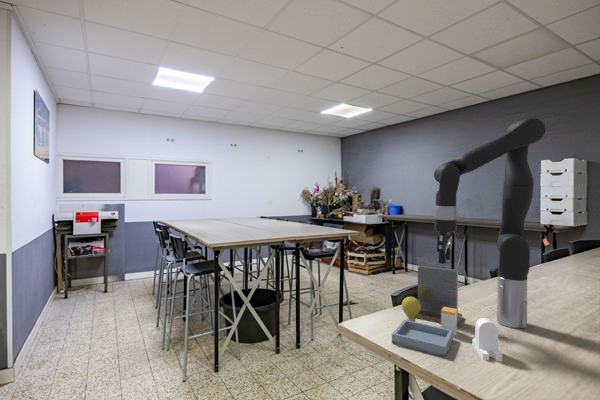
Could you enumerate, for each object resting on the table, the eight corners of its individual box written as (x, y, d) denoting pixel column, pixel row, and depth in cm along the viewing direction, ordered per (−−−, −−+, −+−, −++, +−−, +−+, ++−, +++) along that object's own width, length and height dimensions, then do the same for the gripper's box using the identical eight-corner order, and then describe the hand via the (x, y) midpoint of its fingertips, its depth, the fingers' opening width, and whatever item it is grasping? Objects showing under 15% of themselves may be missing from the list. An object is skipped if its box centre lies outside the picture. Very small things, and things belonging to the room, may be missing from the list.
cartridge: (456, 331, 113) (457, 309, 113) (454, 336, 109) (455, 312, 109) (443, 328, 116) (443, 306, 115) (441, 333, 112) (441, 310, 112)
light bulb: (398, 320, 123) (398, 294, 123) (415, 319, 123) (415, 294, 123) (405, 327, 116) (406, 300, 116) (423, 327, 117) (424, 299, 116)
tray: (452, 339, 107) (452, 330, 107) (445, 357, 96) (445, 347, 96) (404, 327, 116) (404, 319, 116) (391, 343, 105) (391, 333, 105)
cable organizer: (489, 345, 103) (490, 314, 102) (502, 362, 93) (503, 327, 93) (471, 344, 104) (472, 313, 103) (482, 360, 94) (483, 326, 94)
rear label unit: (462, 317, 125) (462, 267, 125) (458, 326, 117) (458, 273, 117) (419, 309, 134) (420, 262, 134) (413, 317, 126) (413, 267, 126)
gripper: (452, 220, 112) (451, 266, 112) (459, 217, 123) (459, 259, 124) (430, 218, 116) (429, 263, 117) (439, 216, 128) (438, 257, 128)
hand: (444, 261), depth 120 cm, fingers open, 8 cm apart
